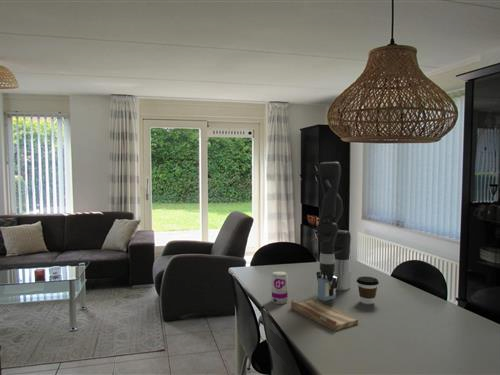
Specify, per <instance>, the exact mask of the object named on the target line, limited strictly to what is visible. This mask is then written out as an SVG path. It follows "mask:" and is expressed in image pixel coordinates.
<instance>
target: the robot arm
mask: <svg viewBox="0 0 500 375" xmlns="http://www.w3.org/2000/svg"><path fill="white" fill-rule="evenodd" d="M341 167H342V166H341V164H340V162H339V161H324V162H320V163H319V165H318V175H319V180H320V183H321V188H322V192H323V198H322V202H321V211H320V217H319V220H318V223H317V226H316V233H317V235H318V236H319V237H329V239H326V240H322V241H320V243H319V244H320V246H319V250H320V252H319V253H320V254H319V271H317V272H316V273H315V274H316V279H317V281H318V279H320V278H322V279H326V280H328V284H329V296H333V294H334V289H335V288H336V291H347V290H349V289H350V288H351V271H350V254H351V240H352V238H351V233H350V231H349V230H341V229H339V225H338V222H339V220H340V219H341V217H342V215H343V213H344V206H343V205H344V204H343V200H342V197H341V196H340V195H339V193H338V191H339V188H340V181H341V174H342V168H341ZM331 180H332V182H331V183H330V181H331ZM335 247H341V250H337V251H335ZM330 281H332V282H331V283H330ZM331 284H332V286H331Z"/></svg>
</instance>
